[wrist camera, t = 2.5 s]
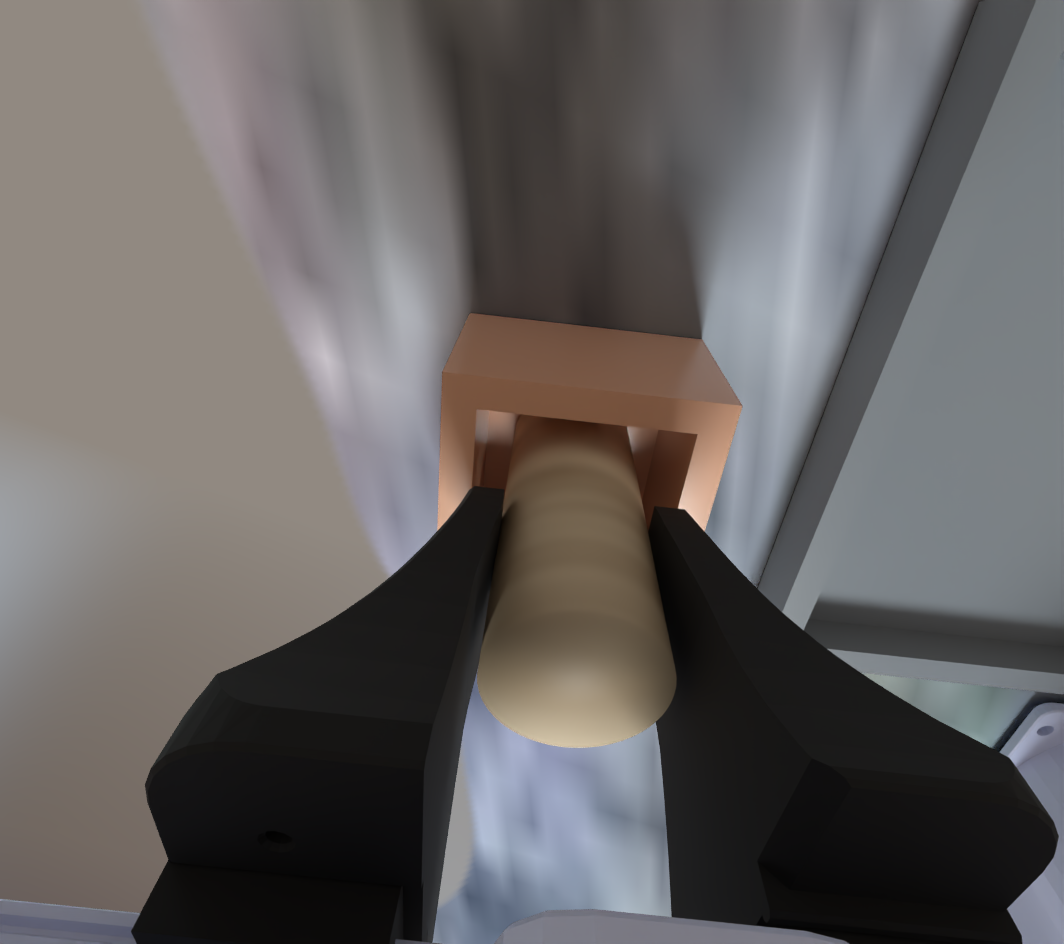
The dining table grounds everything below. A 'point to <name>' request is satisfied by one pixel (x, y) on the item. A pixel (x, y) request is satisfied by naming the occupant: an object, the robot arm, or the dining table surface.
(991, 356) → the tray
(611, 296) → the dining table surface
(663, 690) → the dowel
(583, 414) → the open box
